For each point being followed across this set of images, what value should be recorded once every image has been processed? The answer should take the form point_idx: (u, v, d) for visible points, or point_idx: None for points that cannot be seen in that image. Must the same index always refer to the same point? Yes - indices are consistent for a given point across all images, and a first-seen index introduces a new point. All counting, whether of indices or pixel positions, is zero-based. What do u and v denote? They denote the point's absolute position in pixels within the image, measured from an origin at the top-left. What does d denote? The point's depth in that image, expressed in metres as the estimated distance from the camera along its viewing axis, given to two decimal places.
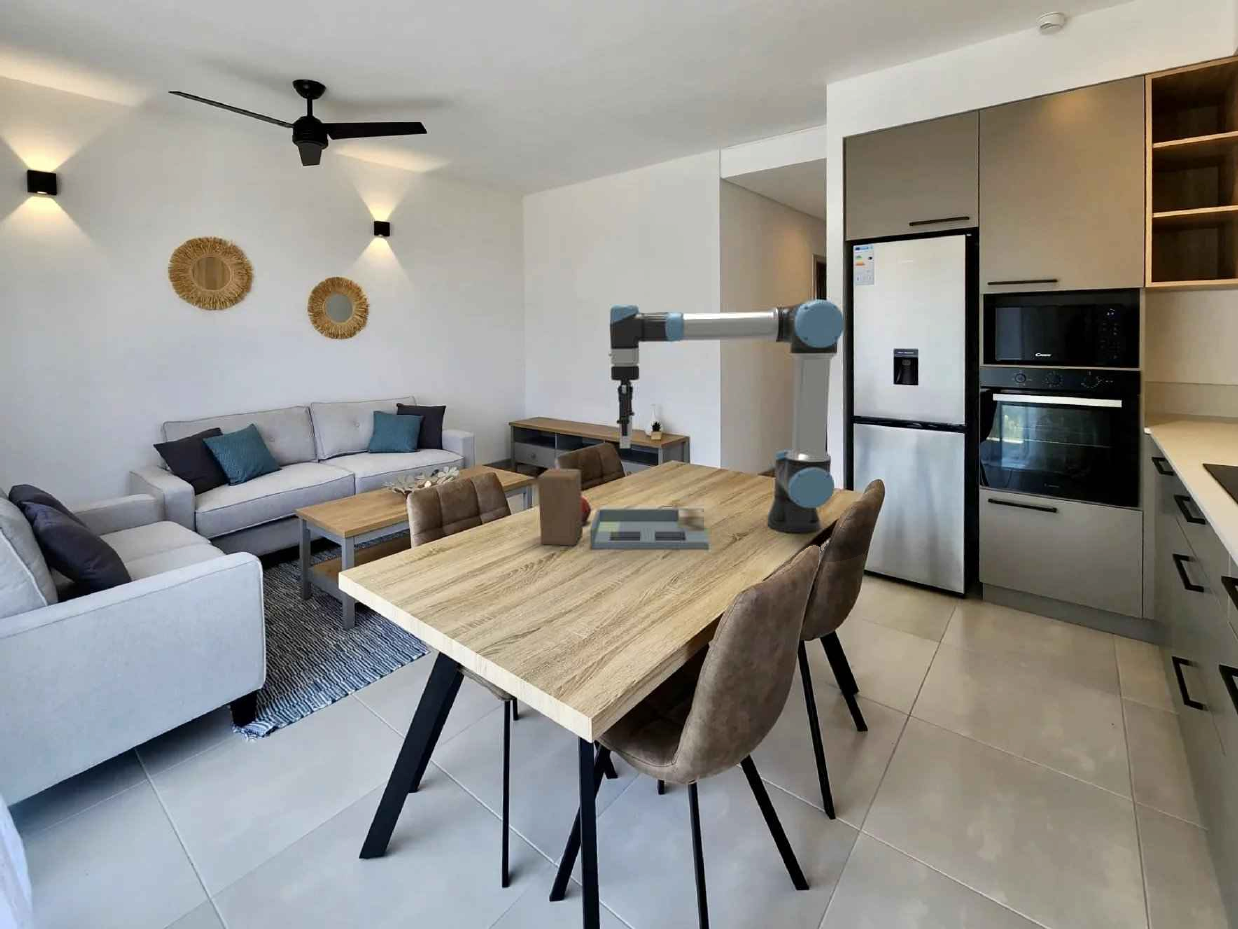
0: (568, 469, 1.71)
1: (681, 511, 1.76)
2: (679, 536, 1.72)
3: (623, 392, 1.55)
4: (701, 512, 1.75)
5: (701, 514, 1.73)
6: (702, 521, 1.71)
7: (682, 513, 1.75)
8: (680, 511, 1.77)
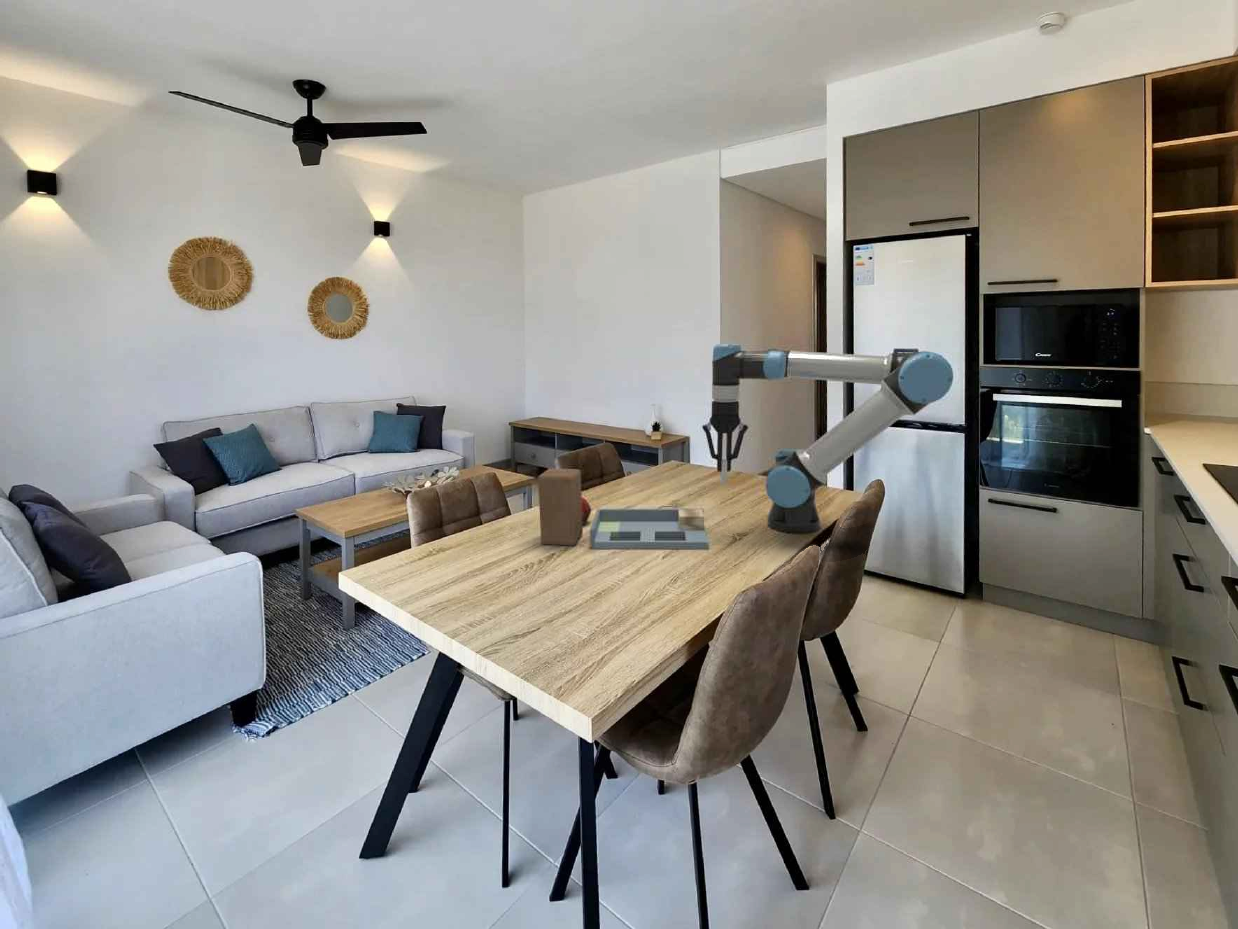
0: (568, 469, 1.71)
1: (681, 511, 1.76)
2: (679, 536, 1.72)
3: None
4: (701, 512, 1.75)
5: (701, 514, 1.73)
6: (702, 521, 1.71)
7: (682, 513, 1.75)
8: (680, 511, 1.77)
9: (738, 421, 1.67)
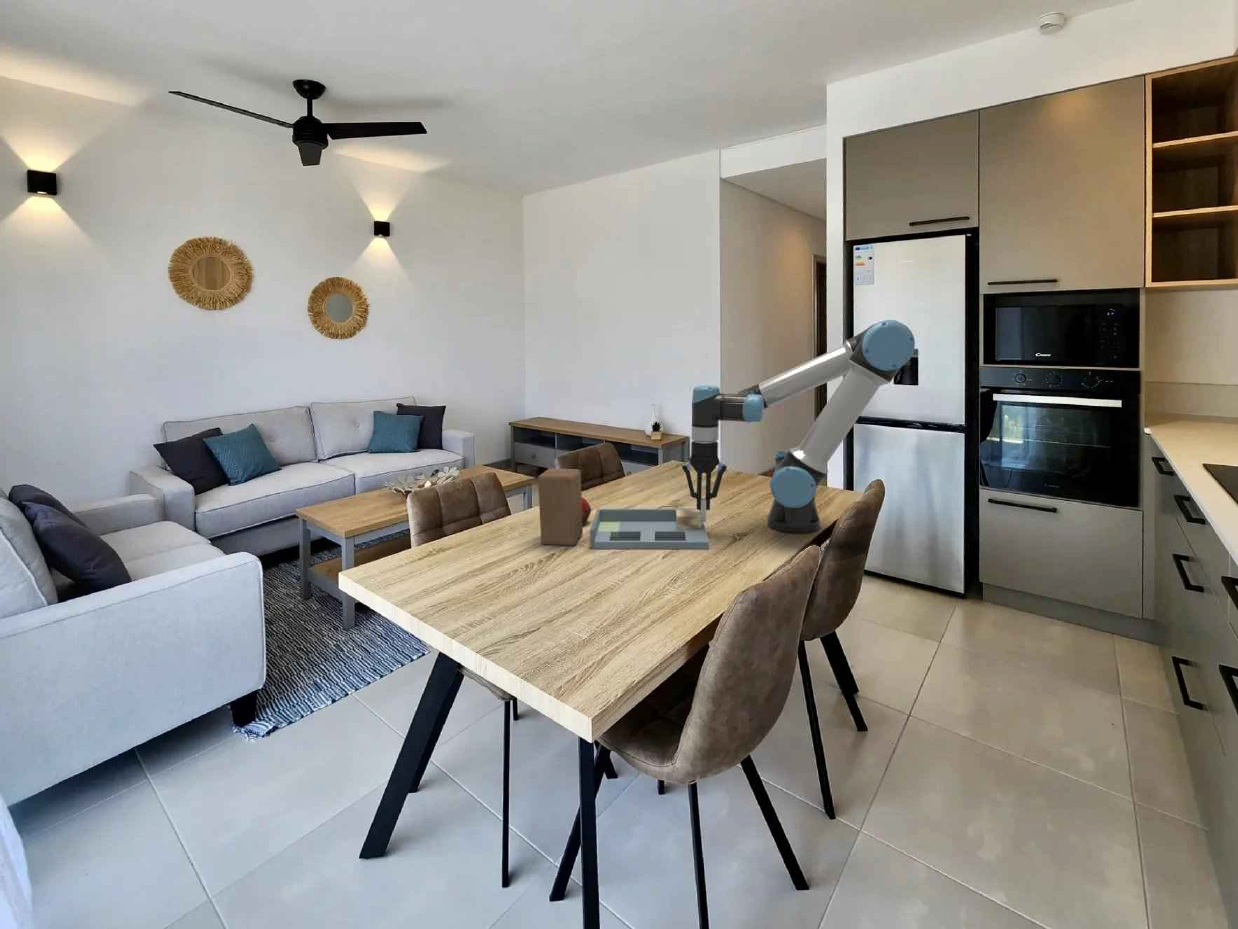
0: (568, 469, 1.71)
1: (679, 511, 1.77)
2: (679, 536, 1.72)
3: None
4: (699, 512, 1.75)
5: (698, 514, 1.73)
6: (699, 521, 1.72)
7: (680, 513, 1.75)
8: (678, 511, 1.77)
9: (717, 461, 1.70)
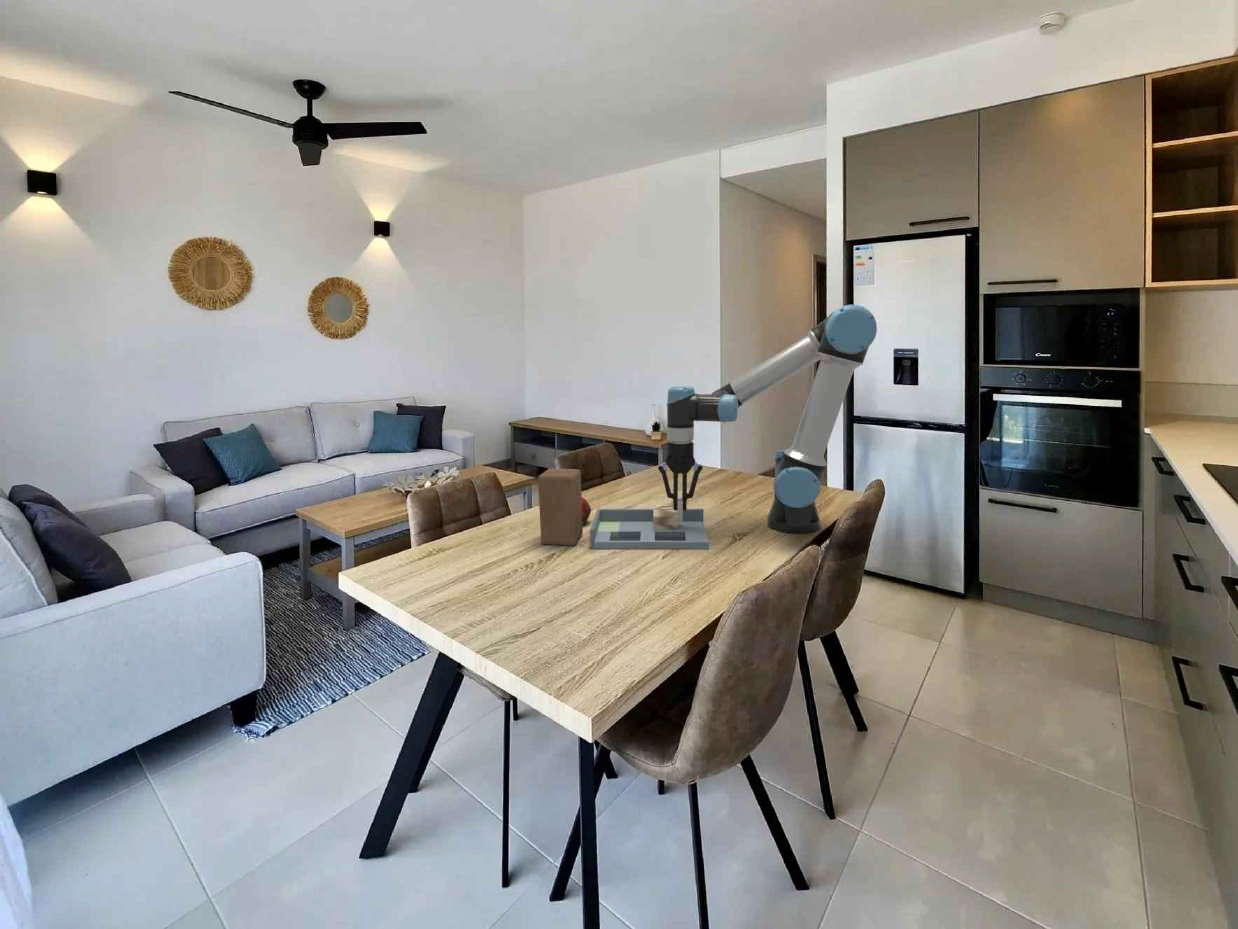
0: (568, 469, 1.71)
1: (656, 511, 1.77)
2: (679, 536, 1.72)
3: None
4: (675, 512, 1.76)
5: (675, 514, 1.74)
6: (676, 521, 1.72)
7: (656, 513, 1.75)
8: (655, 511, 1.77)
9: (693, 462, 1.71)
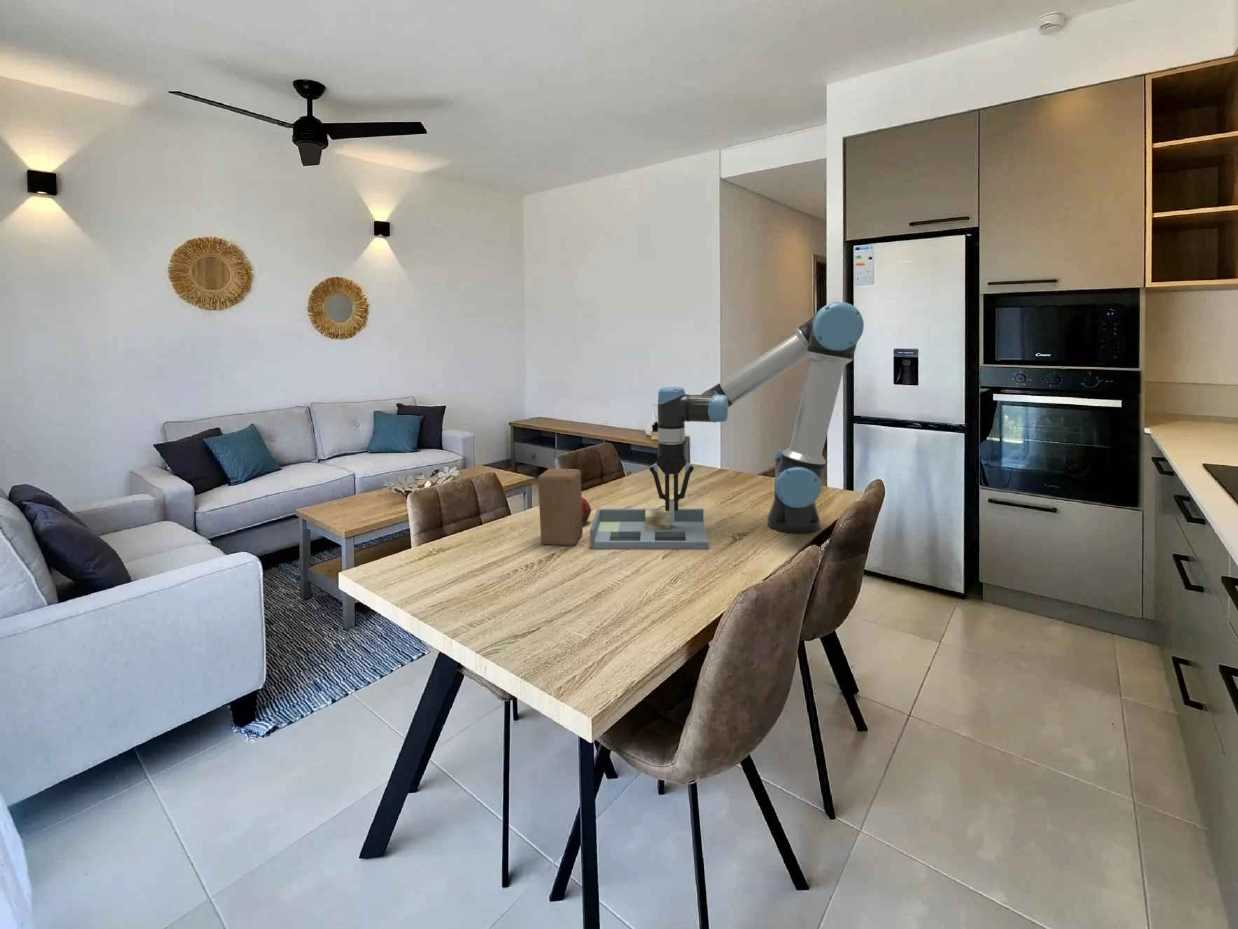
0: (568, 469, 1.71)
1: (648, 511, 1.77)
2: (679, 536, 1.72)
3: None
4: (668, 512, 1.76)
5: (667, 514, 1.74)
6: (668, 521, 1.72)
7: (649, 513, 1.75)
8: (647, 511, 1.77)
9: (684, 462, 1.71)
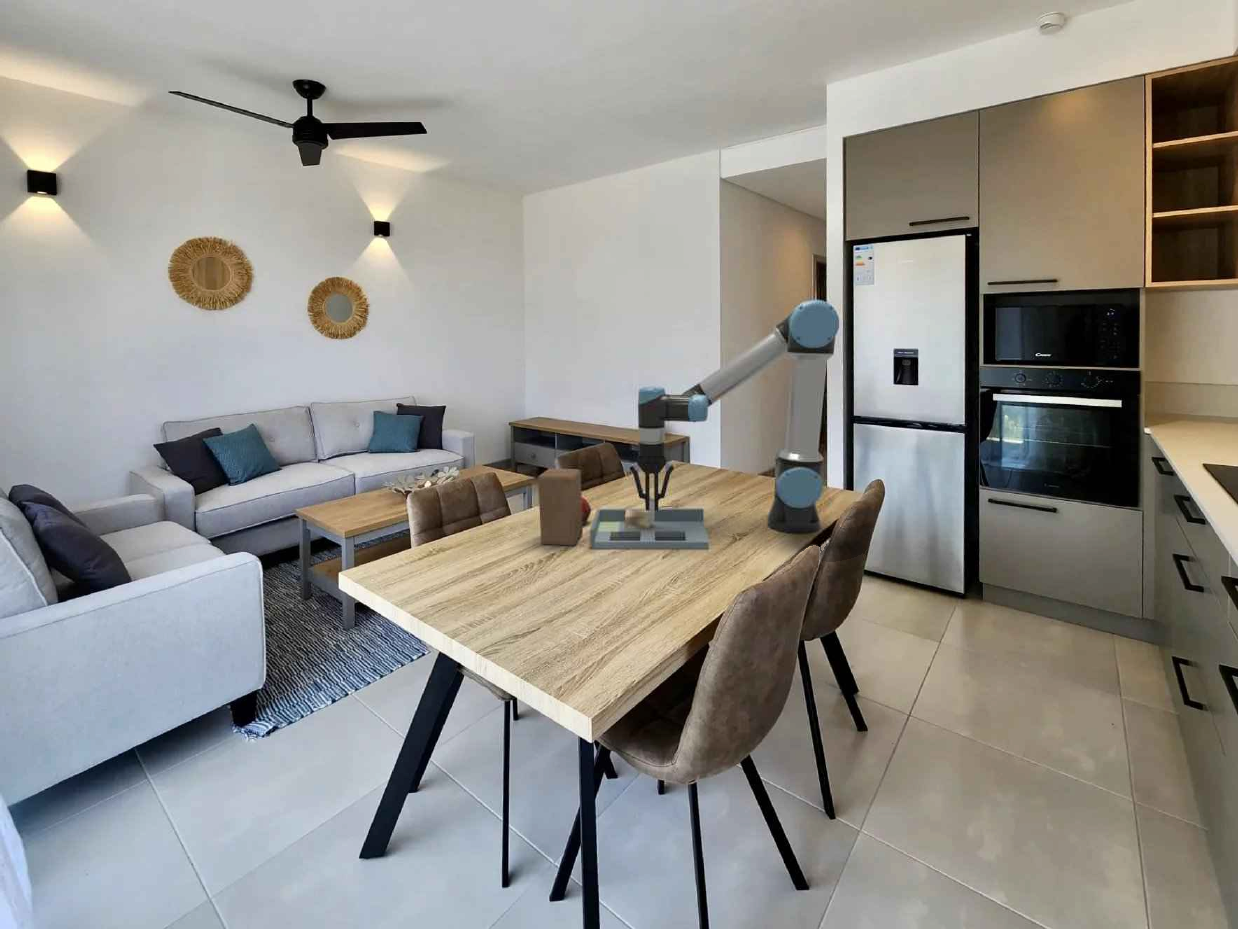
0: (568, 469, 1.71)
1: (628, 511, 1.78)
2: (679, 536, 1.72)
3: None
4: (648, 512, 1.76)
5: (647, 514, 1.74)
6: (647, 521, 1.73)
7: (629, 513, 1.76)
8: (627, 511, 1.78)
9: (664, 462, 1.71)
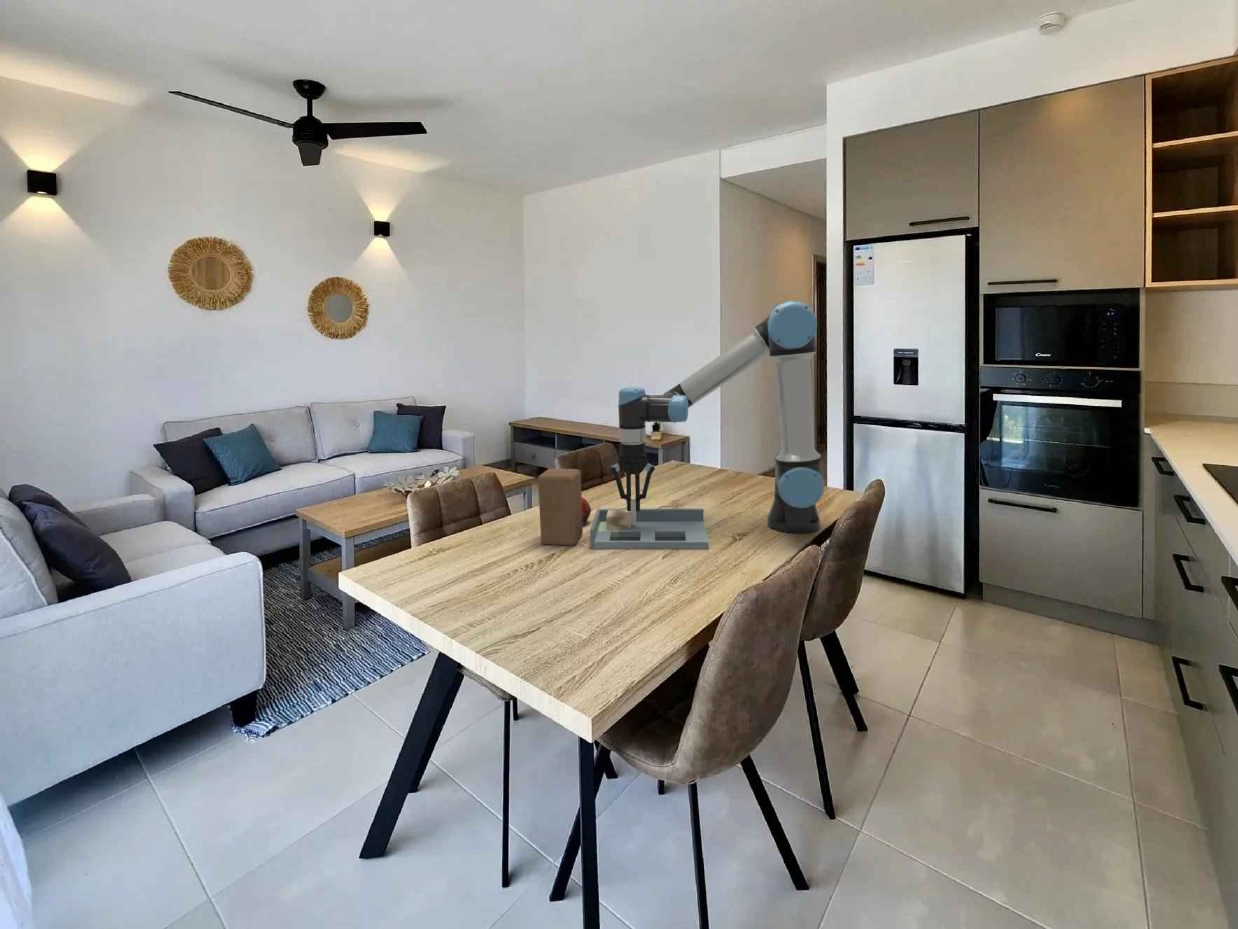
0: (568, 469, 1.71)
1: (610, 511, 1.78)
2: (679, 536, 1.72)
3: None
4: (629, 512, 1.76)
5: (628, 514, 1.75)
6: (629, 521, 1.73)
7: (610, 513, 1.76)
8: (609, 511, 1.78)
9: (645, 463, 1.71)
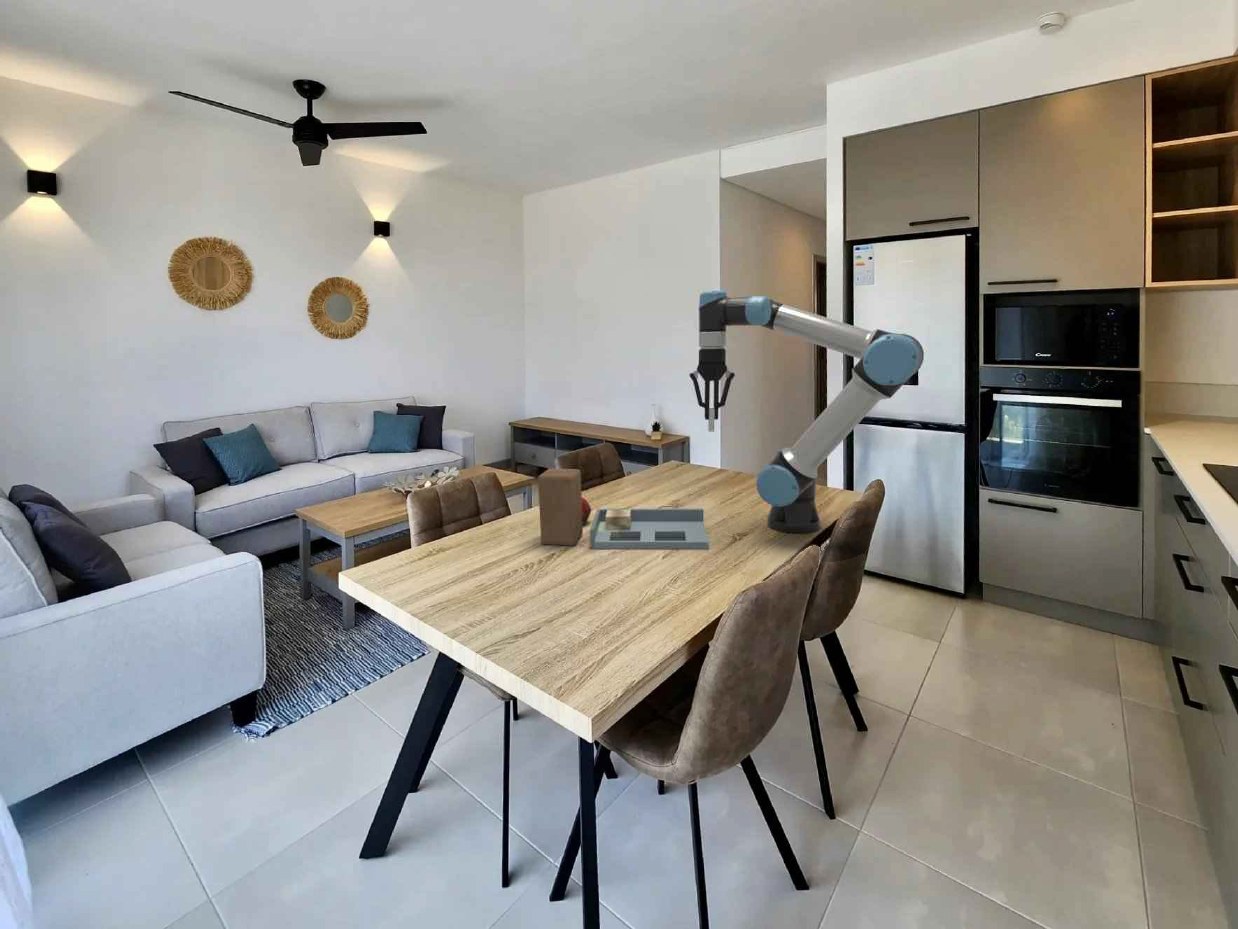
0: (568, 469, 1.71)
1: (609, 511, 1.78)
2: (679, 536, 1.72)
3: None
4: (628, 512, 1.76)
5: (628, 514, 1.75)
6: (628, 521, 1.73)
7: (609, 513, 1.76)
8: (608, 511, 1.78)
9: (725, 368, 1.69)
